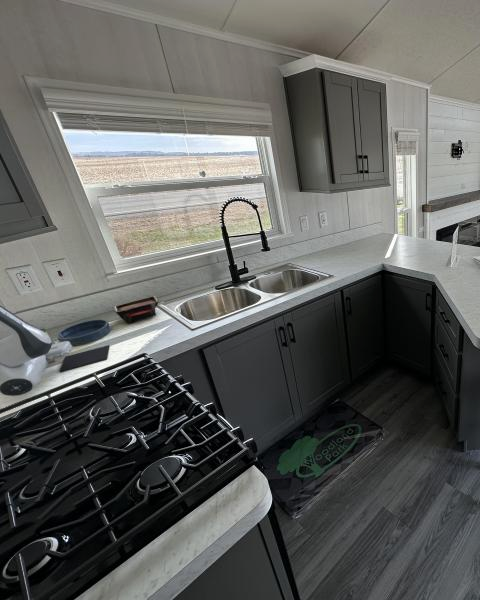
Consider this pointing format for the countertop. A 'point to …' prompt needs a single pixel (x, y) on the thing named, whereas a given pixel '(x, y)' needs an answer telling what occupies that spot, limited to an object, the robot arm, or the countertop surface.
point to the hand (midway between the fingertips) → (39, 346)
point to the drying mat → (84, 358)
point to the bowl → (84, 332)
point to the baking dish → (137, 309)
